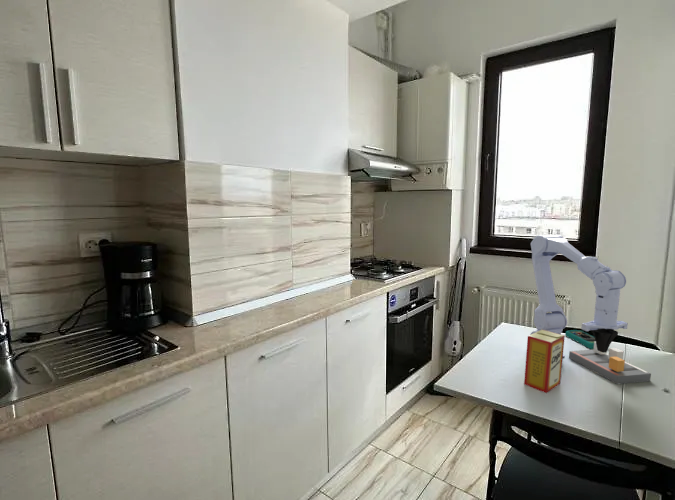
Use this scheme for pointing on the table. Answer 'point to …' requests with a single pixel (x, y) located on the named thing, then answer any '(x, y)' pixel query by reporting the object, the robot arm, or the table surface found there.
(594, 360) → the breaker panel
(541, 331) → the baking soda box
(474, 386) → the table surface
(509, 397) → the table surface
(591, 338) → the digital multimeter
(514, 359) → the table surface
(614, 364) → the orange small block
